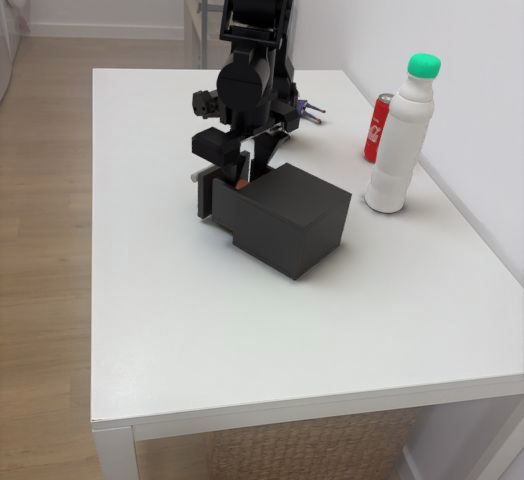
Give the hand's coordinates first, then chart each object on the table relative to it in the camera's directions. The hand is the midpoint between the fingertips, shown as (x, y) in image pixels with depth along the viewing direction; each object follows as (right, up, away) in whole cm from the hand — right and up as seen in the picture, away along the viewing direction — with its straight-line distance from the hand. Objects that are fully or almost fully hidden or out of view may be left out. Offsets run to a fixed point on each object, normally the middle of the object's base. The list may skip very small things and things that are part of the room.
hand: (244, 182), depth 84 cm
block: (-1, -3, +4) cm, 5 cm away
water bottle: (+25, 0, +13) cm, 28 cm away
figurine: (+9, +27, +35) cm, 45 cm away
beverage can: (+26, +13, +25) cm, 38 cm away
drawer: (-2, -3, +5) cm, 6 cm away
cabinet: (+7, -10, +2) cm, 12 cm away
